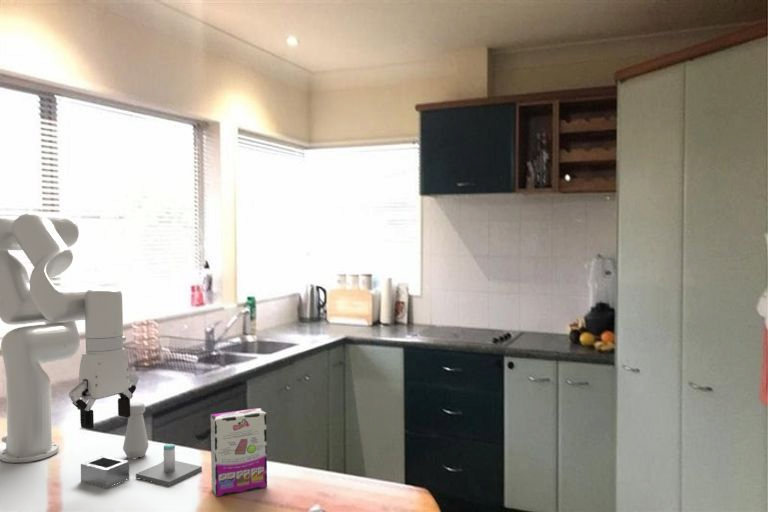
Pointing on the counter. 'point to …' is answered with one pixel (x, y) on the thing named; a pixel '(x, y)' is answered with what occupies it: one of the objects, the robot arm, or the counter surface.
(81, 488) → the counter surface
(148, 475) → the wall peg plate
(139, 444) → the salt shaker
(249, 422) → the candy bar box
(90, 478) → the link
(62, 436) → the counter surface
